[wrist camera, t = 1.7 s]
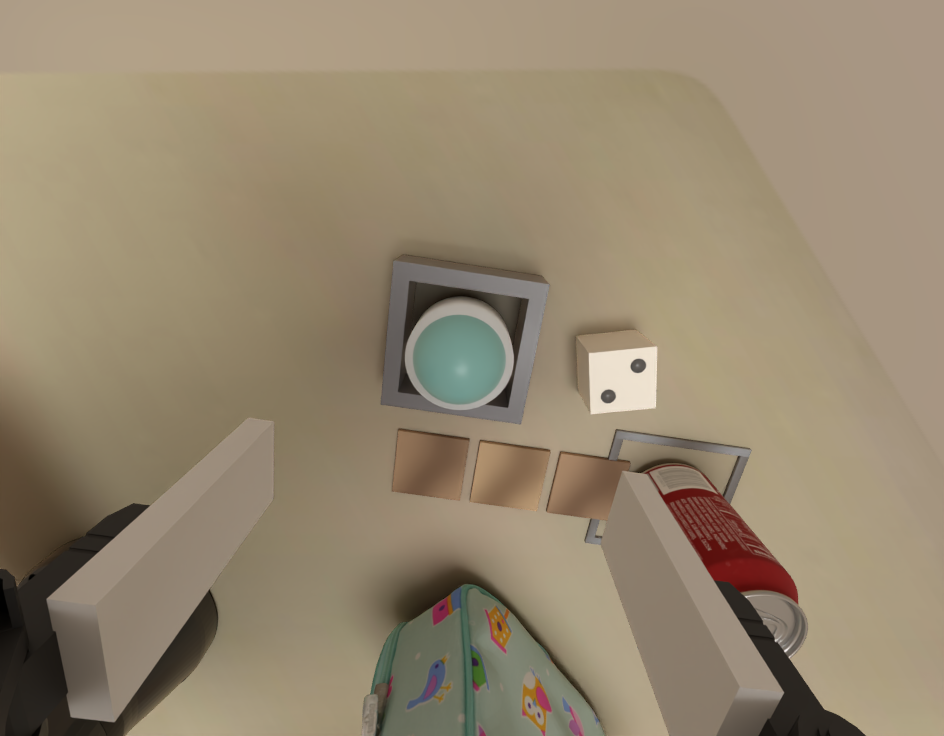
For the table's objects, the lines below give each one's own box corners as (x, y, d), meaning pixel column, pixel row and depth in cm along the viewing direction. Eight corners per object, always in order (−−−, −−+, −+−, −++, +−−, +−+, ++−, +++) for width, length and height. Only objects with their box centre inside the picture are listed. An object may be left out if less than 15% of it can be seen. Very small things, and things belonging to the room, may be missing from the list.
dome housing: (390, 384, 32) (380, 404, 29) (403, 254, 29) (393, 260, 26) (516, 402, 32) (521, 424, 29) (541, 275, 29) (549, 284, 26)
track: (390, 514, 36) (389, 517, 35) (402, 399, 32) (401, 400, 32) (706, 557, 36) (708, 560, 36) (750, 448, 33) (752, 450, 33)
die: (577, 389, 32) (590, 414, 28) (575, 335, 31) (588, 353, 27) (635, 384, 32) (656, 408, 28) (635, 329, 30) (657, 346, 27)
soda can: (635, 450, 33) (716, 573, 22) (722, 467, 34) (845, 598, 22) (607, 524, 36) (667, 671, 24) (689, 540, 36) (786, 691, 25)
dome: (407, 383, 29) (392, 418, 24) (418, 289, 27) (404, 307, 22) (501, 396, 29) (505, 434, 24) (518, 304, 27) (527, 325, 22)
